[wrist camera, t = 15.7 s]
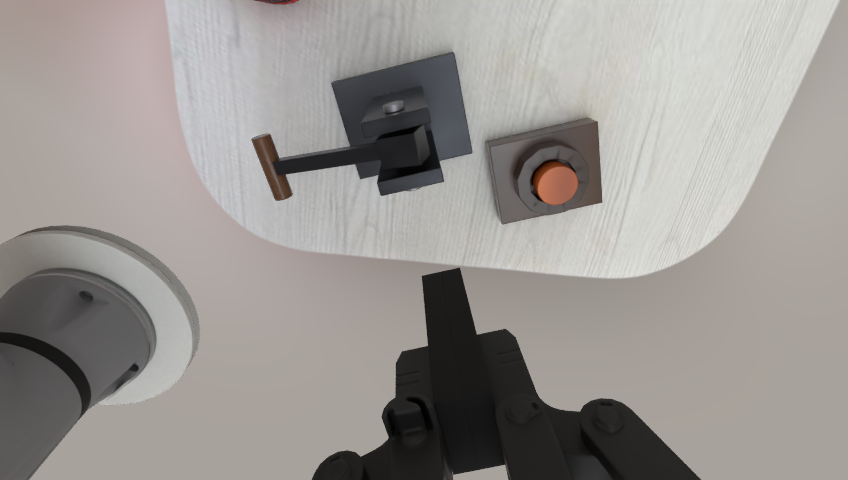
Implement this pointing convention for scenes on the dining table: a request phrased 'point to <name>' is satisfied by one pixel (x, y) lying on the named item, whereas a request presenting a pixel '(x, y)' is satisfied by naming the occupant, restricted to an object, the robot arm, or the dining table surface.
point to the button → (555, 183)
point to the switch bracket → (406, 116)
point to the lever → (342, 156)
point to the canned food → (278, 1)
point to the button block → (531, 150)
